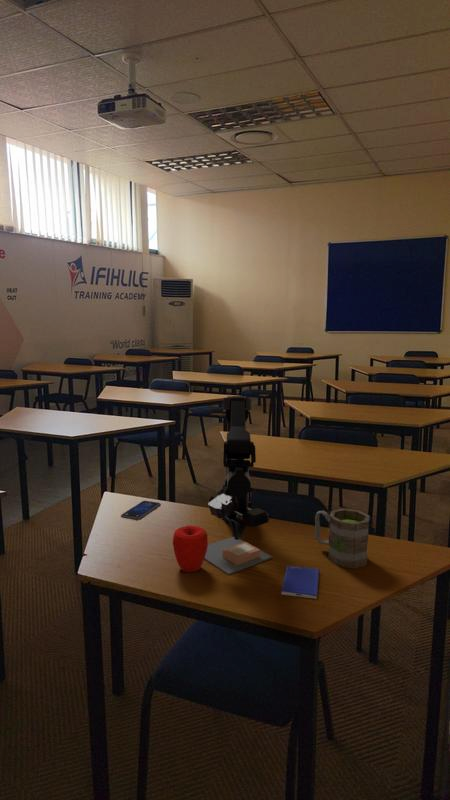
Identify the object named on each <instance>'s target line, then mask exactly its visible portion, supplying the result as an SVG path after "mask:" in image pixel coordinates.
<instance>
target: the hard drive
mask: <svg viewBox="0 0 450 800" xmlns="http://www.w3.org/2000/svg"><path fill="white" fill-rule="evenodd" d="M319 576H320V569H318V568H313V567H303V566H294V565H287V566H286V568H285V573H284V578H283V583H282V587H281V592H280V593H281V595H285V596H292V597H299V598H307V599H315V600H317V599H318V598H317V597H318V588H319V578H320V577H319Z"/></svg>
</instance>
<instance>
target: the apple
mask: <svg viewBox="0 0 450 800" xmlns="http://www.w3.org/2000/svg"><path fill="white" fill-rule="evenodd" d="M208 545H209V544H208V533H207V530H206V529H204V528H202V527H200V526H196V525H195V526H194V525H185V526H181V527H178V528H177V529H176V530H174V533H173V537H172V547H173V552H174V556H175V559H176V562H177V564H178V566H179V568H180V569H181V570H182V571H183V572H188V573H191V572H192V573H193V572H197V571H198V570H200V569H201V567H202V565H203V563H204V561H205V559H204V558H205V555H206V551H207V547H208Z"/></svg>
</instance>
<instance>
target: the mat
mask: <svg viewBox="0 0 450 800" xmlns="http://www.w3.org/2000/svg"><path fill="white" fill-rule="evenodd" d="M243 542H246V541H244V540H243V539H241V538H240V539H239V540H236V539H235V538H234V536H231V537H228V538H225V539H222V540H219V541H215V542H213V543H209V544H208V547H207V551H206V555H205V558H204V561H206V562H208V563H209V564H211V565H213V566H214V567H216V568H217V569H219V570H220V571H222V572H223V573H225V574H227V575H232V574H234V573H237V572H239V571H242V570H245V569H247V568H250V567H253V566H256V565H257V564H261V563H263V562H266V561H267V560H268V561H269V560H271V559H273V556H272V555H270V554H269V553H267V552H265V551H263V550H261V549H260V557H258V558H255V559H252V560H250V561H247V562H244V563H242V564H239V565H235V564H234V563H232V562H230V561H229V560H227V559H225V558H224V557H223V549H226V548H229V547H232V546H235V545H238V544H241V543H243Z"/></svg>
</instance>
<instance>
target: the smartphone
mask: <svg viewBox="0 0 450 800" xmlns="http://www.w3.org/2000/svg"><path fill="white" fill-rule="evenodd" d="M161 504H162V503H161V502H157V501H150V500H142V501H141V502H139V503H137V504H136V505H135V506H133V507H131V508H130V509H128V510H127V511H125V512H123V513H122V514H121V515H120V517H121V518H124V519H130V520H135V521H139V520H141V519H143V518H144V517H145V516H148V515H149V514H151V512H153V511H155V510H156V509H158V508H159V507H160V506H161ZM158 506H159V507H158Z"/></svg>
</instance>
